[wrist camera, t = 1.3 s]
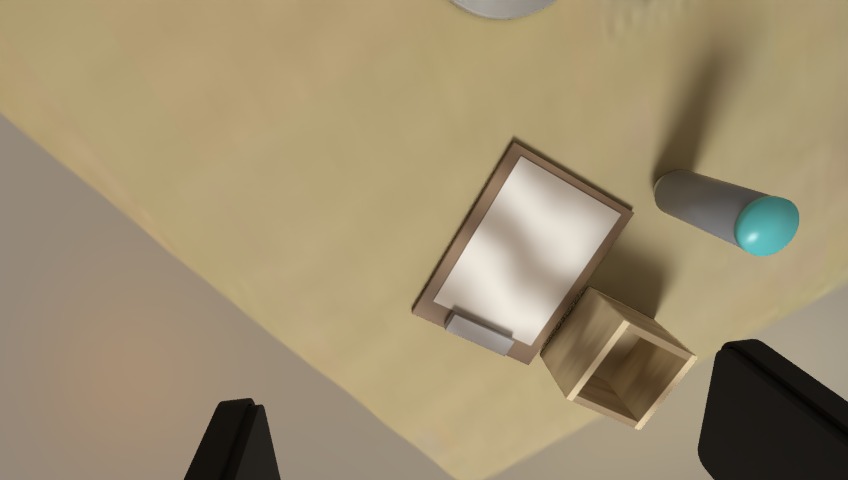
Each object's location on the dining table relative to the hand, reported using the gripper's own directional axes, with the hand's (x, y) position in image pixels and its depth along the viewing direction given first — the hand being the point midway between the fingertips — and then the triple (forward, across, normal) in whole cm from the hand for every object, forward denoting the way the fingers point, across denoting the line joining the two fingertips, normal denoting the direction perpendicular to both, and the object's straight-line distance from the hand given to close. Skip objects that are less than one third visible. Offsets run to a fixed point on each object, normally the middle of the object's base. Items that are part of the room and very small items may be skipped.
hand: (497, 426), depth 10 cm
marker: (+27, -21, +4) cm, 35 cm away
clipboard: (+27, -9, +9) cm, 30 cm away
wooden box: (+27, -16, +17) cm, 36 cm away
